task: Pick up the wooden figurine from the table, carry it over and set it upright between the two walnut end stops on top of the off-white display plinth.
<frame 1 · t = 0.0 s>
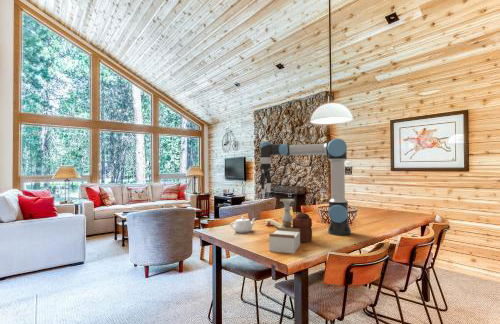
hand: (266, 193, 200), 28 cm above the table, tool pointing down, fingers open, 13 cm apart
display plinth: (285, 247, 162), on the table
candle holder: (287, 234, 195), on the table
wooden figurine: (302, 242, 174), on the table
teapot: (243, 231, 204), on the table
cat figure: (274, 227, 217), on the table
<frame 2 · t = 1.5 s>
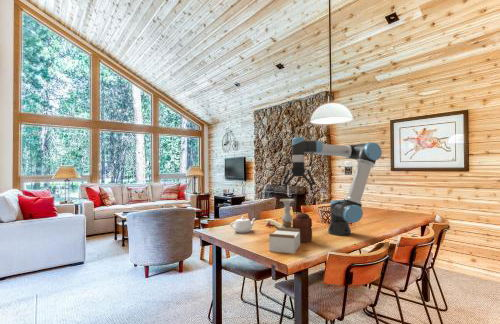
hand: (298, 195, 177), 29 cm above the table, tool pointing down, fingers open, 13 cm apart
nothing on the table moved.
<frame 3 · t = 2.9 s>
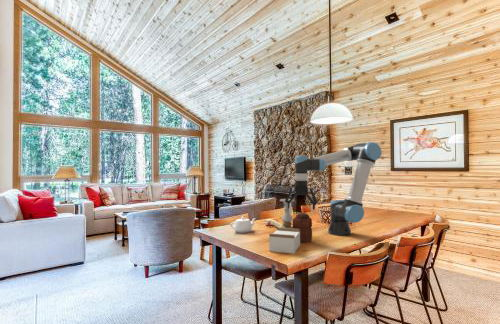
hand: (301, 214, 175), 17 cm above the table, tool pointing down, fingers open, 13 cm apart
nothing on the table moved.
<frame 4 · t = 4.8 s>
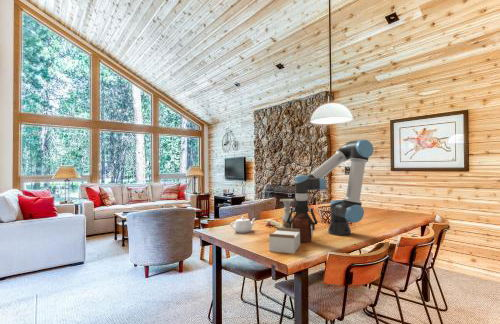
hand: (302, 234, 175), 4 cm above the table, tool pointing down, fingers closed on wooden figurine, 11 cm apart
wooden figurine: (301, 241, 175), on the table, touching gripper
everything else where it was.
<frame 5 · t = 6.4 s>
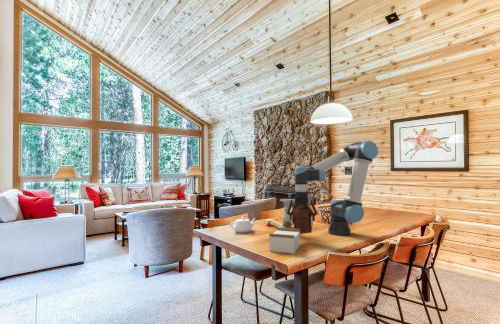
hand: (302, 225, 175), 10 cm above the table, tool pointing down, fingers closed on wooden figurine, 11 cm apart
wooden figurine: (302, 233, 175), point 5 cm above the table, touching gripper
everything else where it was.
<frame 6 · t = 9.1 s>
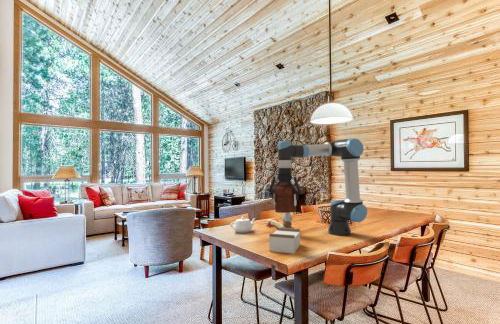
hand: (285, 205, 163), 25 cm above the table, tool pointing down, fingers closed on wooden figurine, 11 cm apart
wooden figurine: (284, 212, 163), point 20 cm above the table, touching gripper
everything else where it was.
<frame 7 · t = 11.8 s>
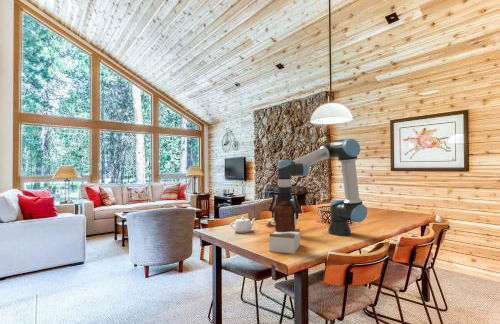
hand: (285, 224, 162), 14 cm above the table, tool pointing down, fingers closed on wooden figurine, 11 cm apart
wooden figurine: (284, 231, 162), point 9 cm above the table, touching gripper
when the fingers open (14 cm above the table, at t = 12.7 s): wooden figurine drops 1 cm, resting on display plinth.
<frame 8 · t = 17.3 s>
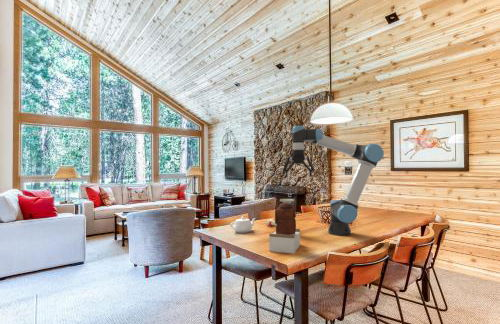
hand: (298, 181, 184), 37 cm above the table, tool pointing down, fingers open, 13 cm apart
wooden figurine: (285, 234, 162), point 8 cm above the table, touching display plinth
at the end: wooden figurine inside the target area on the display plinth (0.1 cm from its centre), point 7.8 cm above the display plinth's base; wooden figurine tilted 0°; the gripper is holding nothing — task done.
